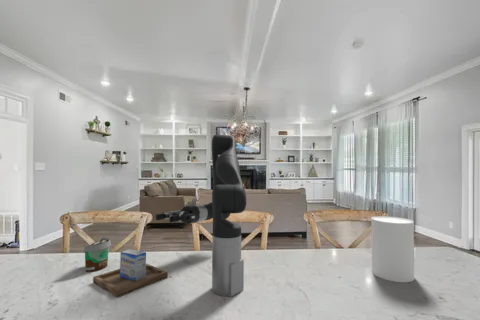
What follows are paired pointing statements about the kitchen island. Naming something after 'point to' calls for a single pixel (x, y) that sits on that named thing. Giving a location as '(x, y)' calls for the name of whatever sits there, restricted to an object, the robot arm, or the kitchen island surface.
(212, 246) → the robot arm
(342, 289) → the kitchen island surface
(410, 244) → the canister
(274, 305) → the kitchen island surface
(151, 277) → the walnut tray
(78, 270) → the kitchen island surface
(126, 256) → the medicine box
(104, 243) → the food container
